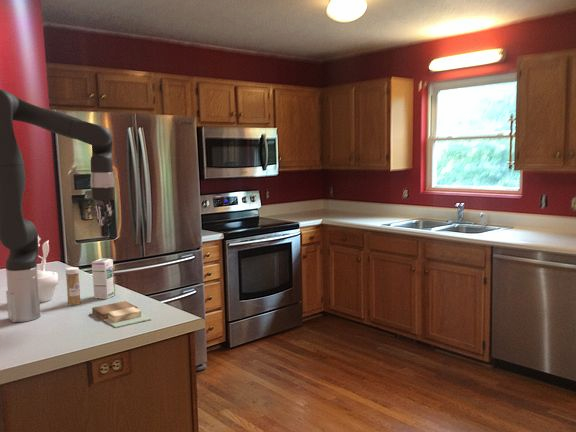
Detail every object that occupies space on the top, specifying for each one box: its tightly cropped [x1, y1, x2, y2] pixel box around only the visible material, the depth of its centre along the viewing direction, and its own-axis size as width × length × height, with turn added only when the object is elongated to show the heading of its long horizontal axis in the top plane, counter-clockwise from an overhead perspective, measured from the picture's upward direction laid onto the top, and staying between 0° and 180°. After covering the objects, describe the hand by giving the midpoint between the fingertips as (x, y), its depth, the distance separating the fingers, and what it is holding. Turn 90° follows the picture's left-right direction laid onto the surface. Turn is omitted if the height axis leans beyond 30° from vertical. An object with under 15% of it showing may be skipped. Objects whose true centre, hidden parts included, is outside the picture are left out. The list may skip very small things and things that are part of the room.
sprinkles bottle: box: [65, 266, 82, 306], centre depth 193 cm, size 5×5×14 cm
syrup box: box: [91, 258, 116, 300], centre depth 202 cm, size 6×6×14 cm
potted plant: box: [37, 234, 59, 303], centre depth 197 cm, size 13×12×25 cm
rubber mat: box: [103, 313, 152, 329], centre depth 174 cm, size 12×10×1 cm
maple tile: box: [108, 307, 142, 322], centre depth 176 cm, size 9×6×2 cm, turn 130°
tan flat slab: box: [91, 300, 138, 321], centre depth 182 cm, size 12×10×2 cm
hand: (104, 236), depth 180 cm, fingers closed
